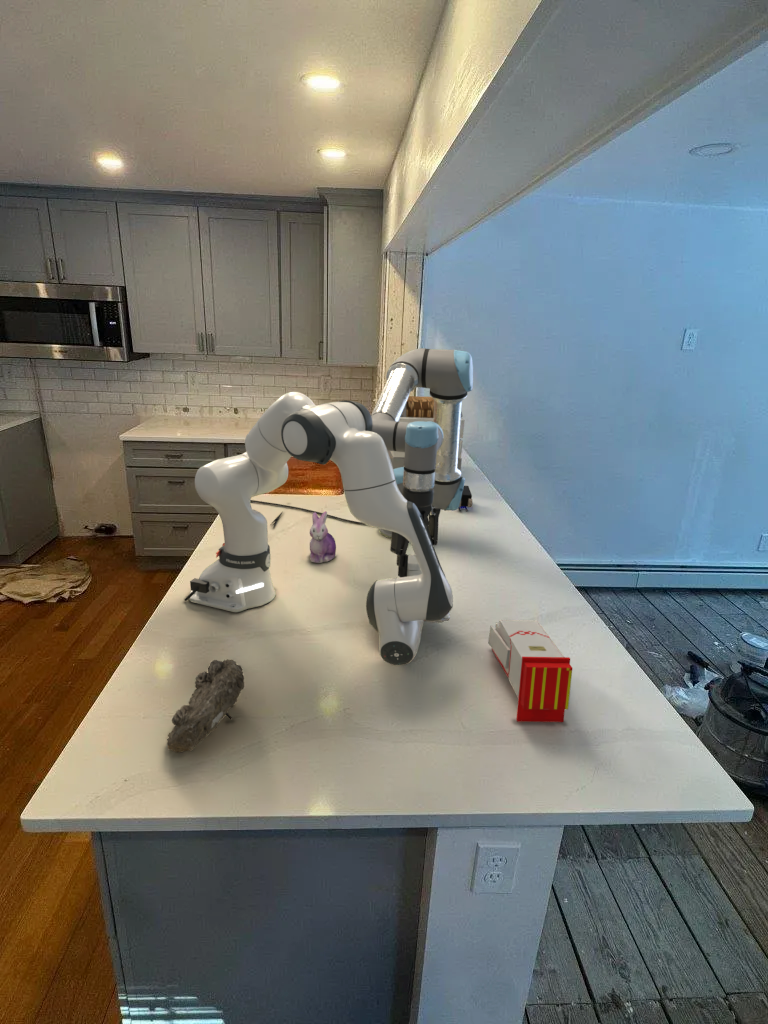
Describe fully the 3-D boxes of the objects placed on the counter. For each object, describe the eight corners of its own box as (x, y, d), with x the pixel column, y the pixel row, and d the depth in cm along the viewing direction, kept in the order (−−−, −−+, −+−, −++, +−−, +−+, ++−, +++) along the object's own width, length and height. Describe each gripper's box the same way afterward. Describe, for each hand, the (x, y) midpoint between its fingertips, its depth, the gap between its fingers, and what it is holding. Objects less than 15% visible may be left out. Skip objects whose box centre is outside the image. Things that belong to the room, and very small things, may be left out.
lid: (426, 570, 140) (426, 564, 140) (402, 570, 140) (402, 564, 139) (423, 560, 146) (423, 554, 145) (400, 560, 145) (400, 554, 145)
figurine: (314, 566, 172) (314, 520, 167) (302, 553, 180) (302, 509, 175) (342, 561, 176) (343, 516, 171) (330, 549, 184) (330, 505, 179)
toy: (535, 605, 135) (581, 664, 106) (530, 657, 138) (574, 728, 108) (484, 604, 135) (517, 662, 105) (480, 656, 137) (511, 727, 108)
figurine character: (472, 516, 224) (466, 500, 237) (474, 499, 220) (469, 483, 234) (455, 515, 224) (451, 499, 237) (457, 498, 220) (452, 483, 234)
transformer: (382, 463, 289) (386, 382, 275) (445, 464, 293) (451, 384, 279) (390, 482, 257) (394, 392, 243) (460, 483, 261) (468, 394, 247)
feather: (289, 506, 225) (292, 502, 225) (272, 529, 199) (275, 525, 198) (286, 503, 225) (288, 500, 225) (268, 527, 199) (271, 522, 198)
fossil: (192, 660, 117) (244, 628, 112) (224, 691, 120) (276, 661, 115) (142, 746, 98) (202, 712, 93) (182, 779, 101) (242, 748, 96)
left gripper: (450, 610, 131) (453, 583, 144) (363, 600, 134) (373, 574, 146) (448, 633, 133) (450, 605, 146) (362, 623, 136) (372, 596, 149)
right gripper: (438, 478, 144) (431, 561, 152) (377, 488, 134) (373, 577, 141) (458, 486, 138) (450, 571, 146) (396, 497, 128) (391, 589, 136)
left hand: (411, 590), depth 146 cm, fingers closed on jar, 5 cm apart
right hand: (412, 574), depth 144 cm, fingers closed on lid, 6 cm apart
